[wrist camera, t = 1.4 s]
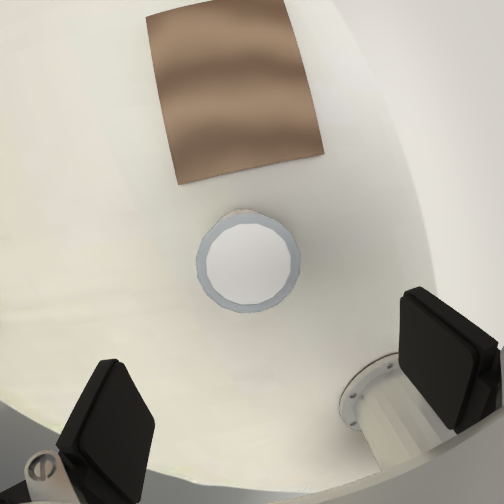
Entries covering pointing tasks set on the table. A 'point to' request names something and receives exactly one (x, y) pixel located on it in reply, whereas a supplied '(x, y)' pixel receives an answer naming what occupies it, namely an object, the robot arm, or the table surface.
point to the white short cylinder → (248, 262)
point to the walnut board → (231, 87)
